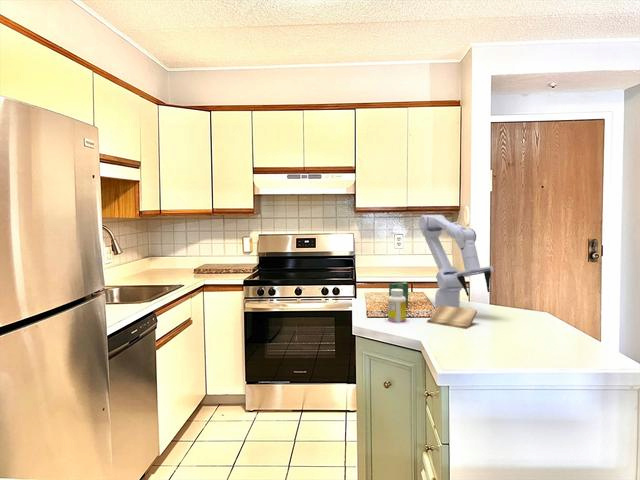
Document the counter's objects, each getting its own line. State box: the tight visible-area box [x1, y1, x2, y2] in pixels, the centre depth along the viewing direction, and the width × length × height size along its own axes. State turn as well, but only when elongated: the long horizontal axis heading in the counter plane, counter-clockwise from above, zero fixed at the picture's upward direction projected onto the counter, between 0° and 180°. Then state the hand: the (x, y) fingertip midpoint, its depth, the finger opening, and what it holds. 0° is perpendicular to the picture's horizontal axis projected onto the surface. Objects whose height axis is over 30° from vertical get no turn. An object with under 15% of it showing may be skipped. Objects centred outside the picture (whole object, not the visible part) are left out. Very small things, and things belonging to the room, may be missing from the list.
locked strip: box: [426, 318, 470, 330], centre depth 175 cm, size 15×2×1 cm, turn 51°
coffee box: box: [388, 282, 409, 309], centre depth 195 cm, size 8×3×13 cm, turn 117°
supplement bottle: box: [387, 289, 407, 324], centre depth 182 cm, size 7×7×13 cm
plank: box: [429, 305, 478, 328], centre depth 179 cm, size 15×8×1 cm
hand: (478, 293), depth 182 cm, fingers open, 7 cm apart
